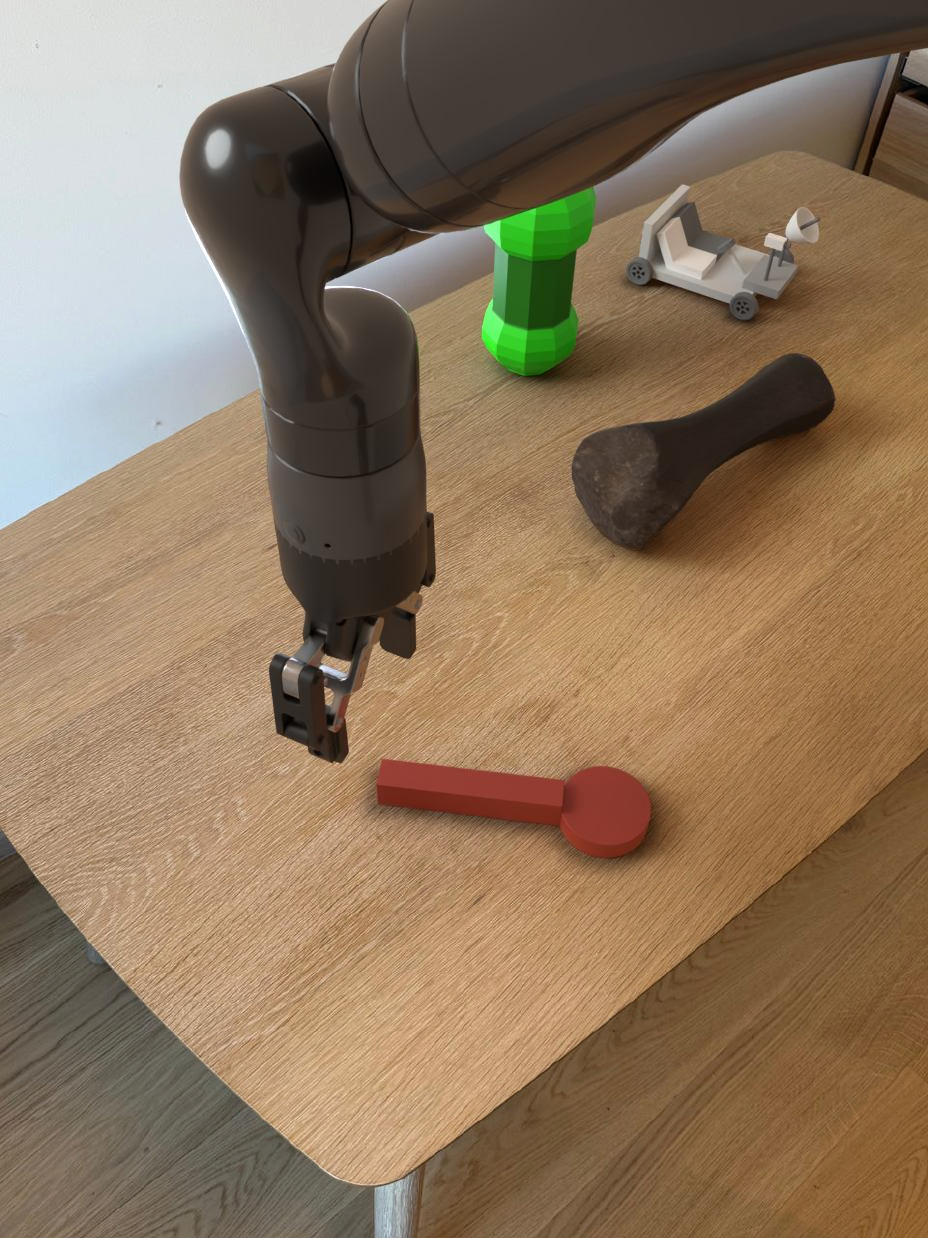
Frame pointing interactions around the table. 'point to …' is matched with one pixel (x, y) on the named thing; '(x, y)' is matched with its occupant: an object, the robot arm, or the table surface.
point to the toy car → (716, 256)
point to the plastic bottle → (536, 284)
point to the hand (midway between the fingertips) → (365, 700)
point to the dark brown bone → (691, 448)
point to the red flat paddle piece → (529, 800)
